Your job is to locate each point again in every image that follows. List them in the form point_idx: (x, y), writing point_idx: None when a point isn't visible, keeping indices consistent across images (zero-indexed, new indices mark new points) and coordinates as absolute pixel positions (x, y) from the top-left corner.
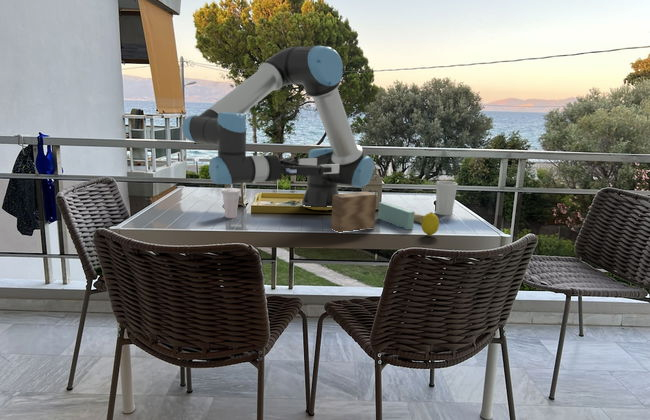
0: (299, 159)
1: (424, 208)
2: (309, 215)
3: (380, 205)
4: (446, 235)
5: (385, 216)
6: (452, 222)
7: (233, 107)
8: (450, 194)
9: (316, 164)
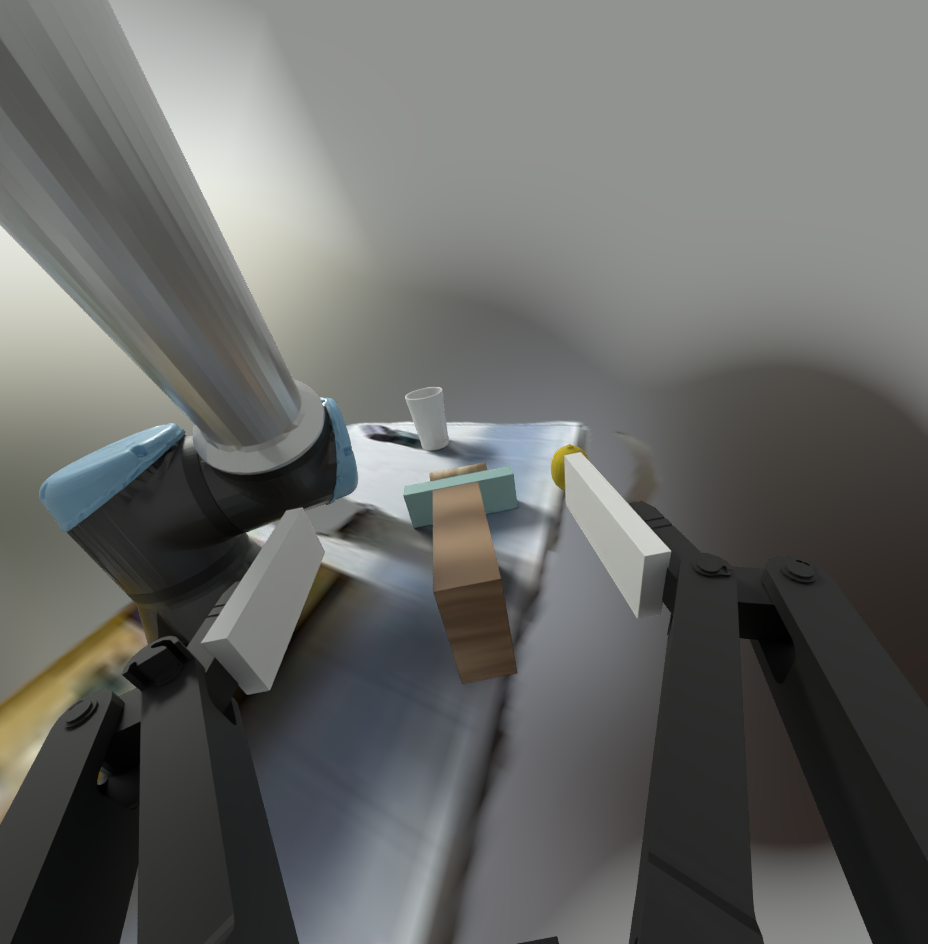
0: (230, 640)
1: (396, 455)
2: None
3: (410, 499)
4: None
5: None
6: (490, 447)
7: None
8: (443, 408)
9: (319, 542)
